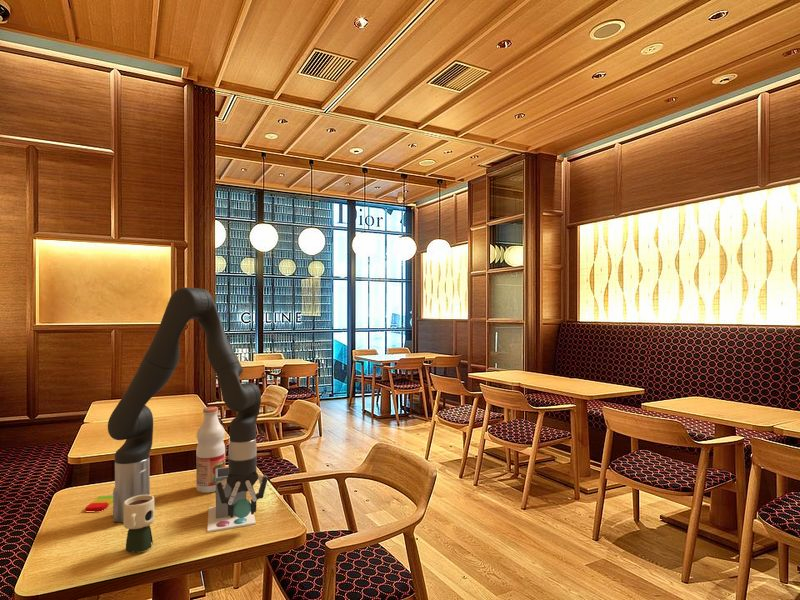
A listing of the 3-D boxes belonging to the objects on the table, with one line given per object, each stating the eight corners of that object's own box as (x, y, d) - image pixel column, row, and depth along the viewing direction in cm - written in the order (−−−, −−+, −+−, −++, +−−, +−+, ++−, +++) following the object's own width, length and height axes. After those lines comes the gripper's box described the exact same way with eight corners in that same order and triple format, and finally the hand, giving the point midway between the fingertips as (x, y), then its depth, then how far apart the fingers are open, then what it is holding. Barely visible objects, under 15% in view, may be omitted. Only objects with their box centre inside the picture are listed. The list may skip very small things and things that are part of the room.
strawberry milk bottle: (201, 483, 168) (200, 405, 168) (228, 482, 169) (228, 404, 169) (192, 494, 159) (192, 411, 159) (221, 492, 160) (220, 410, 160)
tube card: (207, 532, 132) (207, 488, 132) (208, 509, 147) (208, 469, 147) (255, 524, 137) (255, 481, 137) (251, 502, 152) (251, 463, 152)
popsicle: (83, 514, 145) (83, 508, 145) (107, 494, 160) (107, 489, 160) (102, 513, 146) (102, 507, 146) (124, 493, 161) (124, 488, 161)
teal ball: (232, 522, 130) (233, 504, 130) (232, 514, 134) (232, 497, 134) (251, 519, 131) (252, 501, 131) (250, 511, 136) (250, 494, 136)
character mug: (147, 558, 119) (147, 507, 119) (116, 562, 117) (116, 510, 117) (160, 537, 129) (160, 490, 129) (131, 540, 128) (131, 492, 128)
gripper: (215, 462, 127) (214, 525, 127) (270, 456, 132) (269, 516, 132) (215, 453, 134) (215, 513, 134) (267, 448, 139) (267, 505, 139)
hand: (242, 514), depth 133 cm, fingers closed on teal ball, 5 cm apart
